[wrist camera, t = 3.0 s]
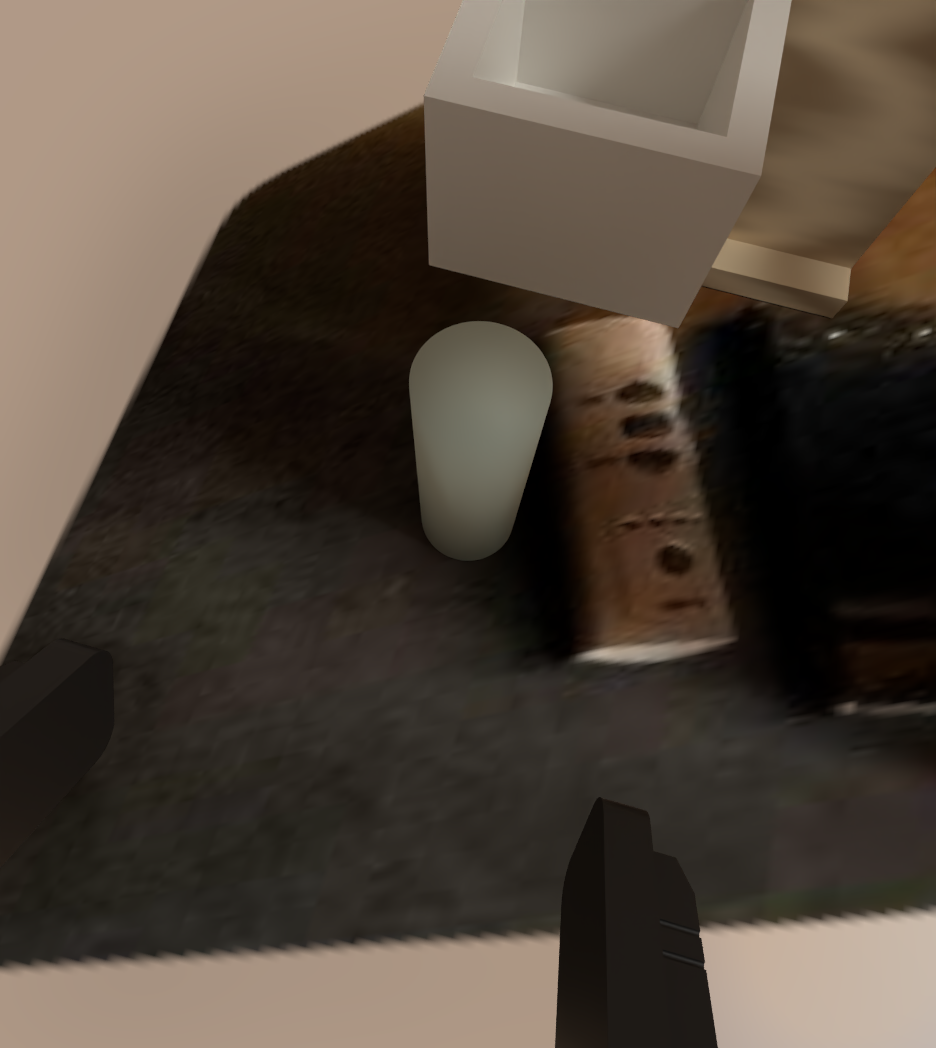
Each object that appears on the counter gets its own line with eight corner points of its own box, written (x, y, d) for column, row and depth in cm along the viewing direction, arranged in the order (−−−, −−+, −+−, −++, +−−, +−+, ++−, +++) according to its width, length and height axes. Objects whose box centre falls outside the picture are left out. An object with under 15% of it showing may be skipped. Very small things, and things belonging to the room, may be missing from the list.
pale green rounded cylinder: (523, 487, 27) (566, 340, 17) (500, 571, 26) (533, 464, 16) (436, 463, 27) (432, 306, 18) (409, 546, 26) (390, 425, 16)
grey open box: (719, 126, 25) (802, -63, 20) (678, 328, 22) (761, 176, 17) (498, 74, 26) (514, -126, 20) (428, 265, 23) (423, 95, 17)
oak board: (841, 239, 31) (1308, -370, 14) (832, 318, 30) (1340, -258, 13) (508, 159, 32) (579, -504, 15) (483, 231, 31) (532, -412, 14)
